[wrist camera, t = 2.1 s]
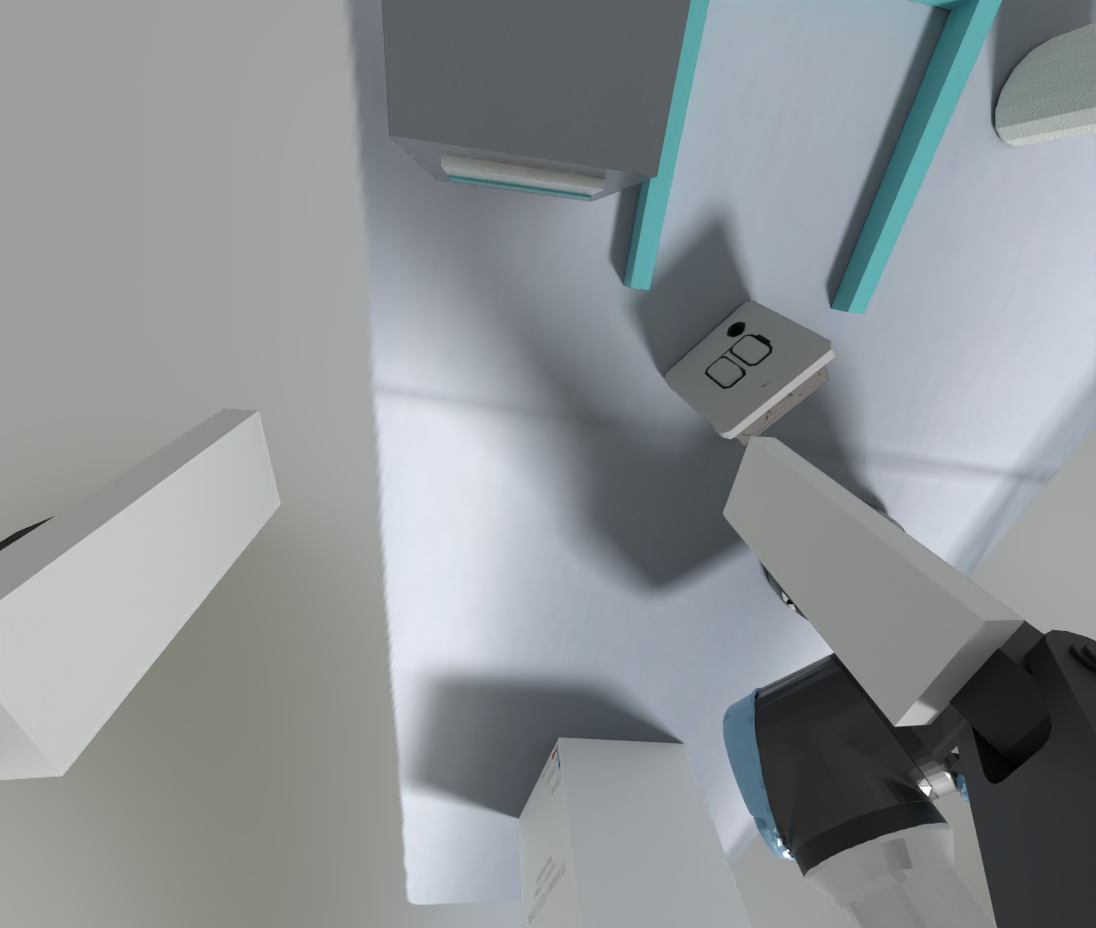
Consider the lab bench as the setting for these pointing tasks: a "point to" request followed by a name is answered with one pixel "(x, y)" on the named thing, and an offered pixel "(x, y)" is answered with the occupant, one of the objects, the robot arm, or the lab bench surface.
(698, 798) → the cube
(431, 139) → the control unit
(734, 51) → the lab bench surface
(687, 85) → the teal bay
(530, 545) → the lab bench surface
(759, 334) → the electrical switch
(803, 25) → the lab bench surface
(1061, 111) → the paper towel roll
